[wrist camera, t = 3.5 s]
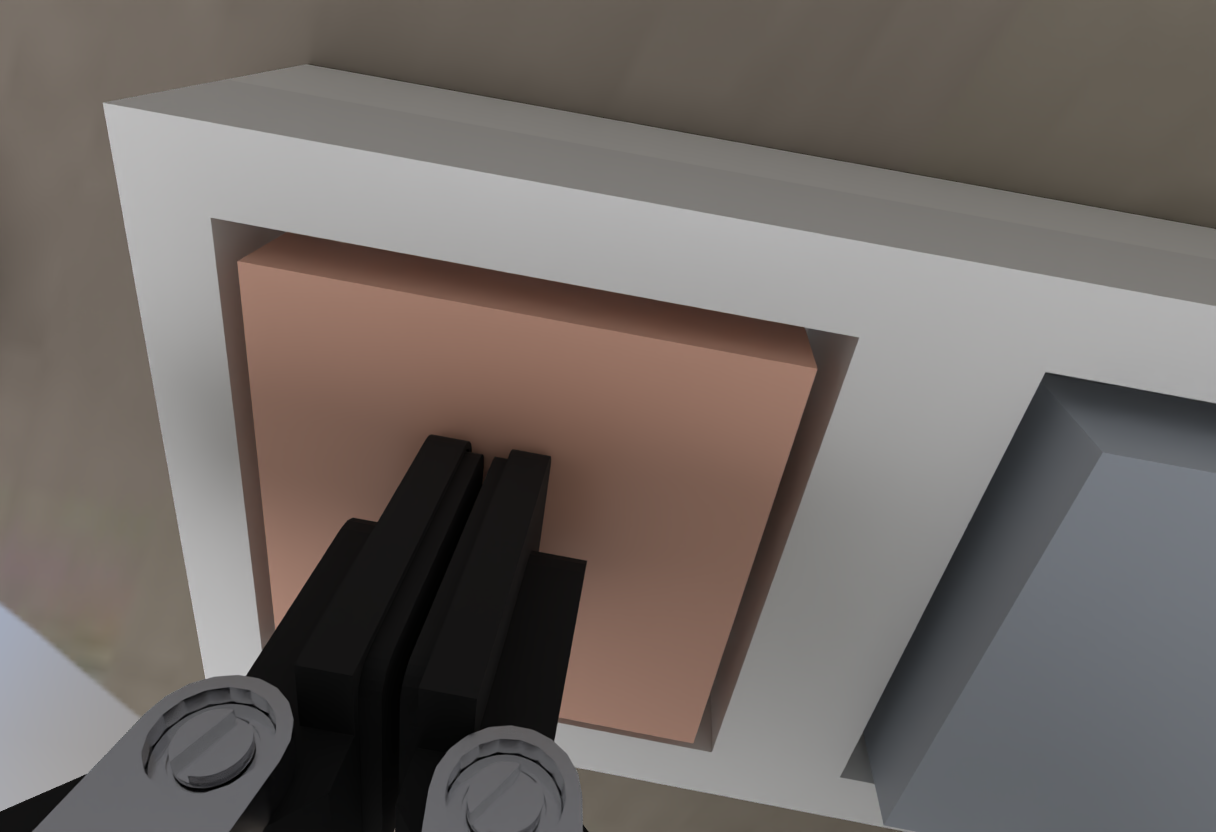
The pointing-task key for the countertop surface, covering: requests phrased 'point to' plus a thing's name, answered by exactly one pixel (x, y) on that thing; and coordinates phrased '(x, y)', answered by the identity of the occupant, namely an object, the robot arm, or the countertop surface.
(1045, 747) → the slate key
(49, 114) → the countertop surface
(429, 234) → the keypad
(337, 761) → the robot arm
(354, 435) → the terracotta key
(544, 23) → the countertop surface
